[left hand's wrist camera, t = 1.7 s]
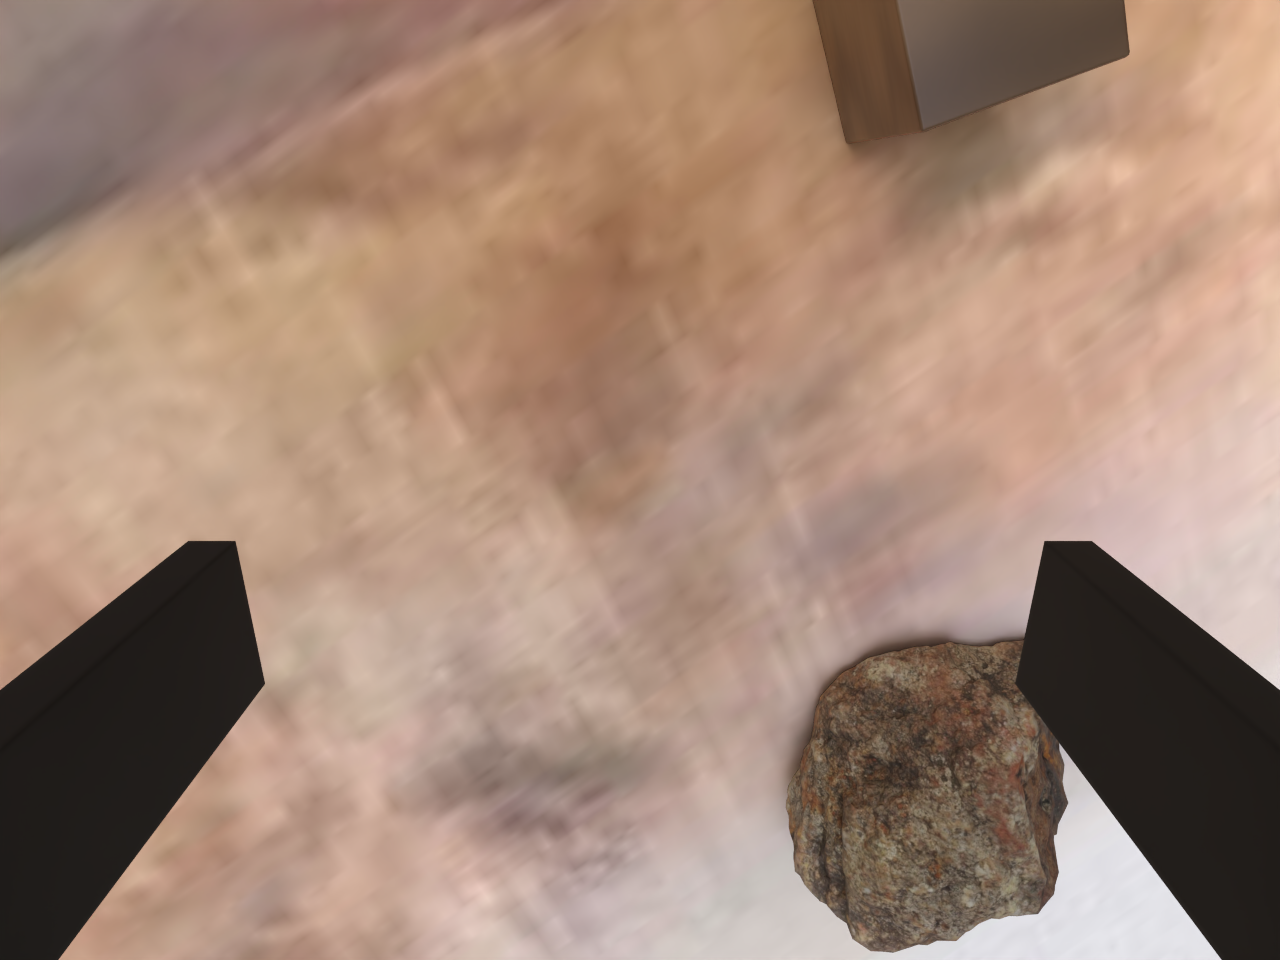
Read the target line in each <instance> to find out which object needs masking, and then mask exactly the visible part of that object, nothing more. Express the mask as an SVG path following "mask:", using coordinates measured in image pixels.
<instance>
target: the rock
mask: <svg viewBox="0 0 1280 960" xmlns="http://www.w3.org/2000/svg"><path fill="white" fill-rule="evenodd" d="M1023 643H1024V640H1019V641H1011V642H1000V643H996V644H995V645H993V646H980V647H976V646H969V645H963V644H954V643H952V642H951V641H950V642H948V643H946V644H940V645H937V646H933V647H929V646H921V647H912V648H908V649H903V650H901V651H892V652H889V653H885V654H881V655H878V656H873V657H869V658H867V659H866V660H864V661H863V662H861V663H859V664H858V665H856V666H855V667H853V668H851V669H849V670H847V671H845V672H843V673H842V674H840V675H839V676H838V677H837V679H836V680H835V681H834V682H833V683H832V684H831V685H830V686H829V687H828V689H827V690H826V691H825V692H824V693H823V694H822V695H821V697H820V701H819V704H818V705H817V707H816V711H815V716H814V727H813V731H812V736H811V740H810V742H809V744H808V745H807V746H806V748H805V749H804V750H803V756H802V760H801V763H800V767H799V769H798V771H797V772H796V774H795V775H794V776H793V778H792V781H791V782H790V784H789V786H788V790H787V793H788V798H787V801H786V809H787V812H788V815H789V830H790V834H791V837H792V840H793V843H794V865H795V872H796V873H798V874H799V875H800V876H801V878H802V880H803V882H804V884H805V886H806V887H807V888H808V889H809V890H810V891H811V893H812V894H813V895H814V896H815V897H817V898H818V899H819V901H821V902H823V903H825V904H827V906H828V907H829V908H830V909H831V910H832V912H833V913H834V914H835V915H836V916H837V917H838V918H840V919H841V920H843V921H844V922H846V923H847V925H848V928H849V931H850V933H851V936H852V939H854V940H855V941H857V942H858V943H860V944H861V945H863V946H864V947H866V948H867V949H869V950H870V951H883V952H892V953H893V952H896V951H900V950H903V949H906V948H909V947H912V946H915V945H918V944H920V945H929V944H931V943H933V942H935V941H957V940H958V939H959V938H960V937H961V936H962V935H963V934H964V933H965V932H967V931H970V930H971V929H973V928H974V927H975V926H976V925H978V924H979V923H981V922H984V921H986V920H988V919H991V918H994V919H1001V918H1004V917H1007V916H1022V915H1031V914H1038V913H1039V912H1040V910H1041V909H1042V908H1043V906H1044V905H1045V904H1046V903H1047V901H1048V900H1049V899H1050V898H1051V897H1052V896H1053V895H1054V891H1055V884H1056V880H1057V877H1058V873H1059V871H1058V865H1057V859H1056V851H1055V845H1054V835H1056V834H1057V828H1058V823H1059V821H1060V819H1061V817H1062V815H1063V813H1064V811H1065V809H1066V807H1067V804H1068V801H1067V798H1066V795H1065V792H1064V787H1063V782H1062V781H1063V773H1064V762H1063V759H1062V757H1061V754H1060V751H1059V742H1058V740H1057V739H1056V738H1055V736H1054V735H1053V734H1052V732H1051V731H1050V730H1049V728H1048V727H1047V726H1046V724H1045V723H1044V722H1043V720H1042V719H1041V718H1040V716H1039V715H1038V714H1037V712H1036V711H1035V710H1034V708H1033V707H1032V706H1031V704H1030V703H1029V702H1028V700H1027V699H1026V698H1025V696H1024V695H1023V694H1022V692H1021V691H1020V690H1019V688H1018V687H1017V686H1016V684H1015V681H1016V677H1017V672H1018V667H1019V662H1020V657H1021V652H1022V648H1023Z"/></svg>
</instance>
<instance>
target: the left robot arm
mask: <svg viewBox="0 0 1280 960" xmlns="http://www.w3.org/2000/svg"><path fill="white" fill-rule="evenodd" d="M264 684H265V681H264V677H263V672H262V667H261V662H260V657H259V652H258V648H257V643H256V638H255V633H254V628H253V623H252V619H251V614H250V609H249V604H248V599H247V595H246V590H245V585H244V580H243V575H242V570H241V566H240V561H239V556H238V551H237V546H236V541H188V542H187V543H185V544H184V545H183V546H181V547H180V548H179V549H178V550H176V551H175V552H174V553H173V554H171V555H170V556H169V557H168V558H166V559H165V560H164V561H163V562H161V563H160V564H159V565H157V566H156V567H155V568H154V569H152V570H151V571H150V572H149V573H147V574H146V575H145V576H144V577H142V578H141V579H140V580H139V581H137V582H136V583H135V584H134V585H132V586H131V587H130V588H128V589H127V590H126V591H125V592H123V593H122V594H121V595H120V596H118V597H117V598H116V599H115V600H113V601H112V602H111V603H110V604H108V605H107V606H106V607H104V608H103V609H102V610H101V611H99V612H98V613H97V614H96V615H94V616H93V617H92V618H91V619H89V620H88V621H87V622H86V623H84V624H83V625H82V626H81V627H79V628H78V629H77V630H75V631H74V632H73V633H72V634H70V635H69V636H68V637H67V638H65V639H64V640H63V641H62V642H60V643H59V644H58V645H57V646H55V647H54V648H53V649H52V650H50V651H49V652H48V653H46V654H45V655H44V656H43V657H41V658H40V659H39V660H38V661H36V662H35V663H34V664H33V665H31V666H30V667H29V668H28V669H26V670H25V671H24V672H22V673H21V674H20V675H19V676H17V677H16V678H15V679H14V680H12V681H11V682H10V683H9V684H7V685H6V686H5V687H4V688H2V689H1V690H0V960H58V959H59V958H60V957H61V955H62V954H63V953H64V951H65V950H66V949H67V947H68V946H69V945H70V943H71V942H72V941H73V939H74V938H75V937H76V935H77V934H78V933H79V931H80V930H81V929H82V927H83V926H84V925H85V923H86V922H87V921H88V919H89V918H90V917H91V915H92V914H93V913H94V911H95V910H96V909H97V907H98V906H99V905H100V903H101V902H102V901H103V899H104V898H105V897H106V895H107V894H108V893H109V891H110V890H111V889H112V887H113V886H114V885H115V883H116V882H117V881H118V879H119V878H120V877H121V875H122V874H123V873H124V871H125V870H126V869H127V867H128V866H129V865H130V863H131V862H132V861H133V859H134V858H135V857H136V855H137V854H138V853H139V851H140V850H141V849H142V847H143V846H144V845H145V843H146V842H147V841H148V839H149V838H150V837H151V835H152V834H153V833H154V831H155V830H156V829H157V827H158V826H159V825H160V823H161V822H162V821H163V819H164V818H165V817H166V815H167V814H168V813H169V811H170V810H171V809H172V807H173V806H174V805H175V803H176V802H177V801H178V799H179V798H180V797H181V795H182V794H183V793H184V791H185V790H186V789H187V787H188V786H189V785H190V783H191V782H192V781H193V779H194V778H195V777H196V775H197V774H198V773H199V771H200V770H201V769H202V767H203V766H204V765H205V763H206V762H207V761H208V759H209V758H210V756H211V755H212V754H213V752H214V751H215V750H216V748H217V747H218V746H219V744H220V743H221V742H222V740H223V739H224V738H225V736H226V735H227V734H228V732H229V731H230V730H231V728H232V727H233V726H234V724H235V723H236V722H237V720H238V719H239V718H240V716H241V715H242V714H243V712H244V711H245V710H246V708H247V707H248V706H249V704H250V703H251V702H252V700H253V699H254V698H255V696H256V695H257V694H258V692H259V691H260V690H261V688H262V687H263V686H264ZM1015 684H1016V686H1017V687H1018V688H1019V690H1020V691H1021V692H1022V694H1023V695H1024V696H1025V698H1026V699H1027V700H1028V702H1029V703H1030V704H1031V706H1032V707H1033V708H1034V710H1035V711H1036V712H1037V714H1038V715H1039V716H1040V718H1041V719H1042V720H1043V722H1044V723H1045V724H1046V726H1047V727H1048V728H1049V730H1050V731H1051V732H1052V734H1053V735H1054V736H1055V738H1056V739H1057V740H1058V742H1059V743H1060V744H1061V746H1062V747H1063V748H1064V750H1065V751H1066V752H1067V754H1068V755H1069V756H1070V758H1071V759H1072V761H1073V762H1074V763H1075V765H1076V766H1077V767H1078V769H1079V770H1080V771H1081V773H1082V774H1083V775H1084V777H1085V778H1086V779H1087V781H1088V782H1089V783H1090V785H1091V786H1092V787H1093V789H1094V790H1095V791H1096V793H1097V794H1098V795H1099V797H1100V798H1101V799H1102V801H1103V802H1104V803H1105V805H1106V806H1107V807H1108V809H1109V810H1110V811H1111V813H1112V814H1113V815H1114V817H1115V818H1116V819H1117V821H1118V822H1119V823H1120V825H1121V826H1122V827H1123V829H1124V830H1125V831H1126V833H1127V834H1128V835H1129V837H1130V838H1131V839H1132V841H1133V842H1134V843H1135V845H1136V846H1137V847H1138V849H1139V850H1140V851H1141V853H1142V854H1143V855H1144V857H1145V858H1146V859H1147V861H1148V862H1149V863H1150V865H1151V866H1152V867H1153V869H1154V870H1155V871H1156V873H1157V874H1158V875H1159V877H1160V878H1161V879H1162V881H1163V882H1164V883H1165V885H1166V886H1167V887H1168V889H1169V890H1170V891H1171V893H1172V894H1173V895H1174V897H1175V898H1176V899H1177V901H1178V902H1179V903H1180V905H1181V906H1182V907H1183V909H1184V910H1185V911H1186V913H1187V914H1188V915H1189V917H1190V918H1191V919H1192V921H1193V922H1194V923H1195V925H1196V926H1197V927H1198V929H1199V930H1200V931H1201V933H1202V934H1203V935H1204V937H1205V938H1206V939H1207V941H1208V942H1209V943H1210V945H1211V946H1212V947H1213V949H1214V950H1215V951H1216V953H1217V954H1218V955H1219V957H1220V958H1221V959H1222V960H1280V690H1279V689H1278V688H1276V687H1275V686H1274V685H1273V684H1271V683H1270V682H1269V681H1268V680H1266V679H1265V678H1264V677H1263V676H1261V675H1260V674H1259V673H1258V672H1256V671H1255V670H1254V669H1252V668H1251V667H1250V666H1249V665H1247V664H1246V663H1245V662H1244V661H1242V660H1241V659H1240V658H1239V657H1237V656H1236V655H1235V654H1234V653H1232V652H1231V651H1230V650H1228V649H1227V648H1226V647H1225V646H1223V645H1222V644H1221V643H1220V642H1218V641H1217V640H1216V639H1215V638H1213V637H1212V636H1211V635H1210V634H1208V633H1207V632H1206V631H1205V630H1203V629H1202V628H1201V627H1199V626H1198V625H1197V624H1196V623H1194V622H1193V621H1192V620H1191V619H1189V618H1188V617H1187V616H1186V615H1184V614H1183V613H1182V612H1181V611H1179V610H1178V609H1177V608H1176V607H1174V606H1173V605H1172V604H1170V603H1169V602H1168V601H1167V600H1165V599H1164V598H1163V597H1162V596H1160V595H1159V594H1158V593H1157V592H1155V591H1154V590H1153V589H1152V588H1150V587H1149V586H1148V585H1146V584H1145V583H1144V582H1143V581H1141V580H1140V579H1139V578H1138V577H1136V576H1135V575H1134V574H1133V573H1131V572H1130V571H1129V570H1128V569H1126V568H1125V567H1124V566H1123V565H1121V564H1120V563H1119V562H1117V561H1116V560H1115V559H1114V558H1112V557H1111V556H1110V555H1109V554H1107V553H1106V552H1105V551H1104V550H1102V549H1101V548H1100V547H1099V546H1097V545H1096V544H1095V543H1093V542H1092V541H1044V546H1043V551H1042V556H1041V561H1040V566H1039V570H1038V575H1037V580H1036V585H1035V590H1034V595H1033V599H1032V604H1031V609H1030V614H1029V619H1028V623H1027V628H1026V633H1025V638H1024V643H1023V648H1022V652H1021V657H1020V662H1019V667H1018V672H1017V677H1016V681H1015Z"/></svg>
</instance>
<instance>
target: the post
mask: <svg viewBox="0 0 1280 960" xmlns="http://www.w3.org/2000/svg"><path fill="white" fill-rule="evenodd" d="M813 2H814V7H815V11H816V15H817V19H818V24H819V28H820V32H821V37H822V41H823V45H824V49H825V54H826V58H827V62H828V66H829V71H830V75H831V79H832V84H833V88H834V92H835V96H836V101H837V105H838V109H839V114H840V118H841V122H842V126H843V131H844V135H845V139H846V142H847V143H848V144H850V143H856V142H863V141H869V140H875V139H882V138H888V137H894V136H901V135H907V134H913V133H920V132H925V131H928V130H930V129H933V128H936V127H938V126H941V125H944V124H947V123H949V122H952V121H955V120H957V119H960V118H963V117H965V116H968V115H971V114H974V113H976V112H979V111H982V110H984V109H987V108H990V107H993V106H995V105H998V104H1001V103H1003V102H1006V101H1009V100H1011V99H1014V98H1017V97H1020V96H1022V95H1025V94H1028V93H1030V92H1033V91H1036V90H1039V89H1041V88H1044V87H1047V86H1049V85H1052V84H1055V83H1057V82H1060V81H1063V80H1066V79H1068V78H1071V77H1074V76H1076V75H1079V74H1082V73H1084V72H1087V71H1090V70H1093V69H1095V68H1098V67H1101V66H1103V65H1106V64H1109V63H1112V62H1114V61H1117V60H1120V59H1122V58H1125V57H1127V56H1128V55H1129V42H1128V33H1127V23H1126V14H1125V5H1124V0H813Z"/></svg>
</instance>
